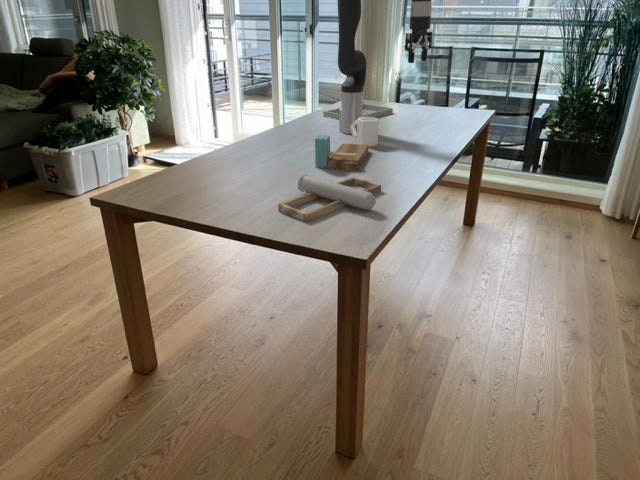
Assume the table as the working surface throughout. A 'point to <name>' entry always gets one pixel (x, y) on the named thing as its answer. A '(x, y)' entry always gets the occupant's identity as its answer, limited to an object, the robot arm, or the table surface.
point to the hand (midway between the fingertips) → (417, 62)
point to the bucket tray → (379, 109)
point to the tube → (337, 192)
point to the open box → (348, 162)
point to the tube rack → (287, 205)
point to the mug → (366, 131)
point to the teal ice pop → (326, 151)
